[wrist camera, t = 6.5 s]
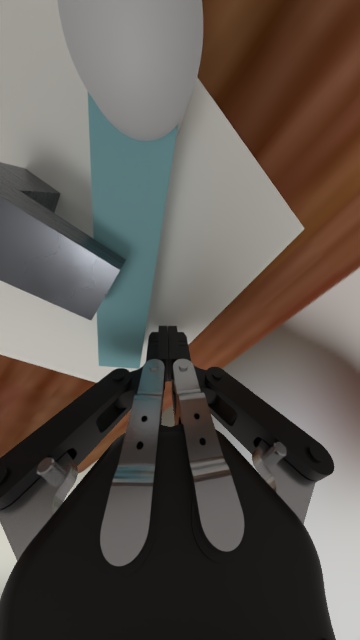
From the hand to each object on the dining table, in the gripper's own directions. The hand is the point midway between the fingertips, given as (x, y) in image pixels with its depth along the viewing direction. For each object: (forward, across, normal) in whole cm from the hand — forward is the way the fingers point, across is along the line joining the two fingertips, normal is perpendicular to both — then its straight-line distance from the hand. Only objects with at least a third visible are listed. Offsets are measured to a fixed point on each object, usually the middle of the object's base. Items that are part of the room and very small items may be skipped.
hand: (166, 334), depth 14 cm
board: (+2, +4, -3) cm, 6 cm away
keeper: (+1, +6, -7) cm, 9 cm away
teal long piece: (+1, +2, -6) cm, 7 cm away
